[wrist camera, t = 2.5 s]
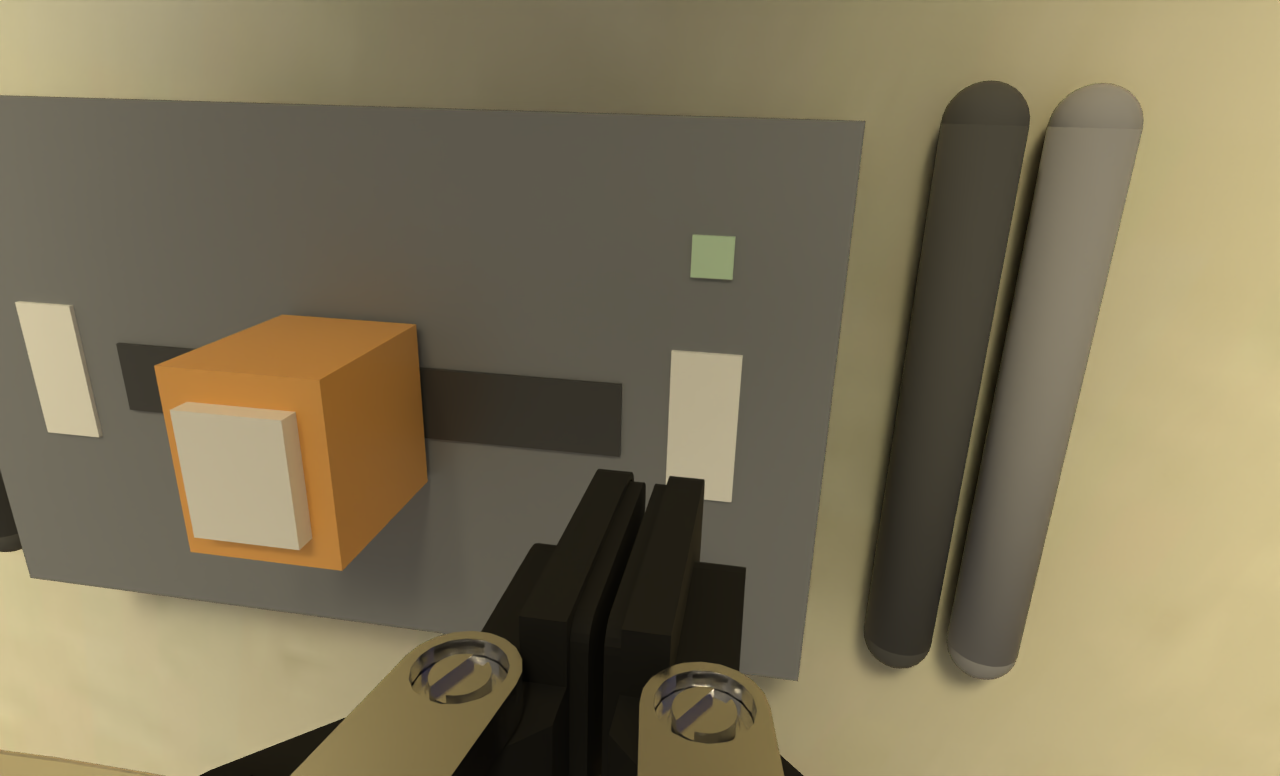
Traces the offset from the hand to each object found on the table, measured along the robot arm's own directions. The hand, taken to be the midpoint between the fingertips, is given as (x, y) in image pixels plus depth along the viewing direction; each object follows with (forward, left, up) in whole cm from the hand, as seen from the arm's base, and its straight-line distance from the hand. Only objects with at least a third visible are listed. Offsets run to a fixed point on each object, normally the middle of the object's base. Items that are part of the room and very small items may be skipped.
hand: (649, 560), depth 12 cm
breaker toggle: (-1, -7, -4) cm, 8 cm away
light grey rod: (-1, +7, -7) cm, 10 cm away
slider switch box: (-1, -7, -7) cm, 10 cm away
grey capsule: (-1, +5, -7) cm, 9 cm away
